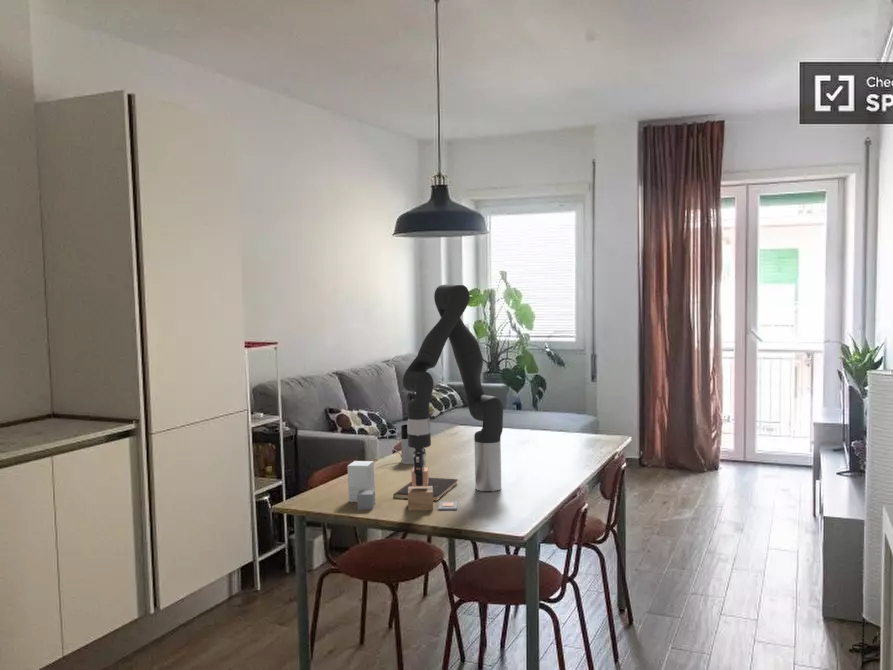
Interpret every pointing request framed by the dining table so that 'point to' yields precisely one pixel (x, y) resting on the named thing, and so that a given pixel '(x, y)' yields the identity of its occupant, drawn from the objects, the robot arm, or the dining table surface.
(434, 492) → the hardcover book
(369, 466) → the supplement box
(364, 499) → the grey cube
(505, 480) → the dining table surface
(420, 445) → the robot arm
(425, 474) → the terracotta block
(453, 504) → the card
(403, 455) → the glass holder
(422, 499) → the walnut base block
